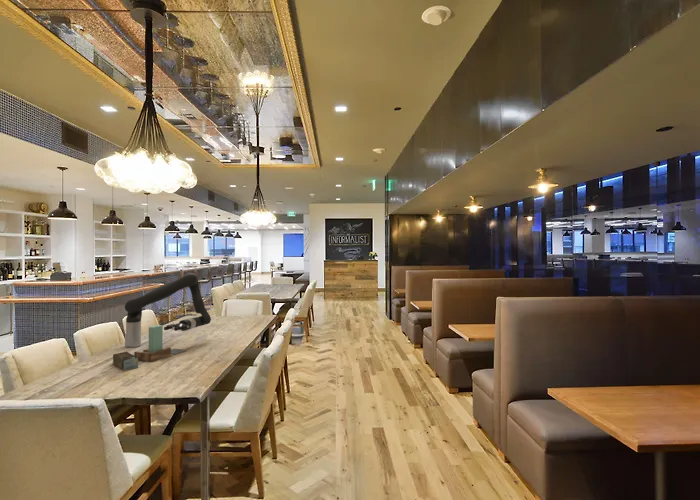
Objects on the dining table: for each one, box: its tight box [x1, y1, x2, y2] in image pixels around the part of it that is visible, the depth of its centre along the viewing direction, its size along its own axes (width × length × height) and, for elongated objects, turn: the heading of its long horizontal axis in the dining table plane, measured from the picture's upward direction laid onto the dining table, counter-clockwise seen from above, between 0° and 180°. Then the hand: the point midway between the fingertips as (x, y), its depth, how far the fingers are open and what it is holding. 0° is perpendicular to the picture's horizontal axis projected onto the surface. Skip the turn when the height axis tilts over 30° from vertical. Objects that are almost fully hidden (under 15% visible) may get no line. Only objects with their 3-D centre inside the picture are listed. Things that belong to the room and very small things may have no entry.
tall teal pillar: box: [148, 324, 164, 353], centre depth 239 cm, size 4×7×20 cm, turn 161°
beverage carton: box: [112, 351, 139, 371], centre depth 223 cm, size 8×19×7 cm, turn 47°
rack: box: [133, 347, 172, 363], centre depth 240 cm, size 14×16×5 cm
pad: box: [171, 348, 188, 356], centre depth 254 cm, size 11×11×1 cm
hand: (169, 329), depth 249 cm, fingers open, 8 cm apart
